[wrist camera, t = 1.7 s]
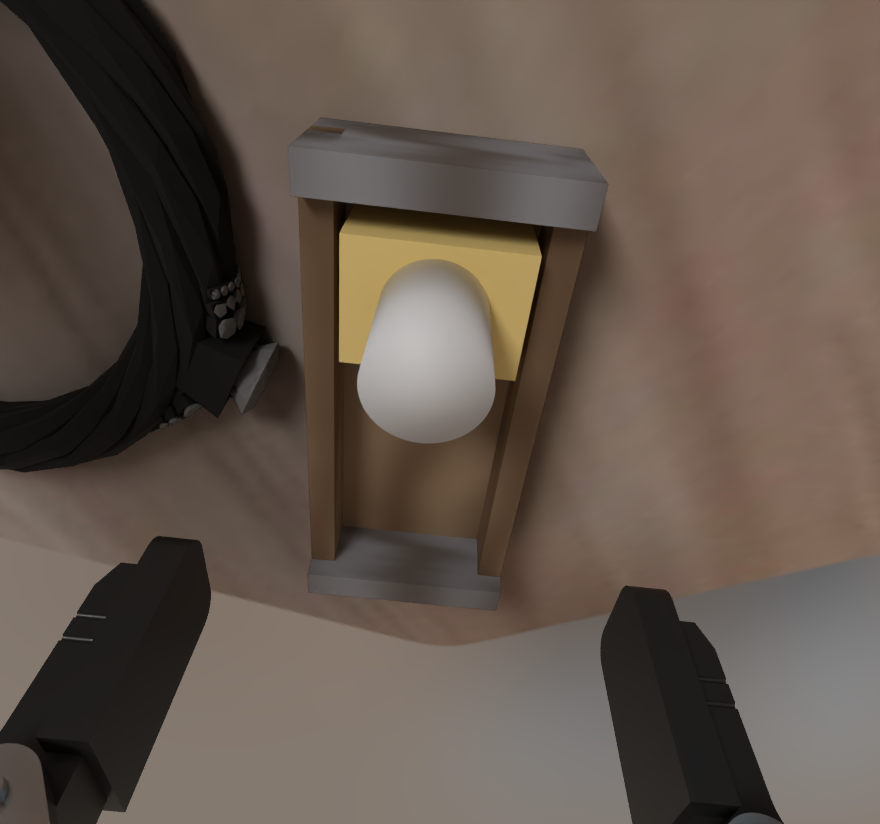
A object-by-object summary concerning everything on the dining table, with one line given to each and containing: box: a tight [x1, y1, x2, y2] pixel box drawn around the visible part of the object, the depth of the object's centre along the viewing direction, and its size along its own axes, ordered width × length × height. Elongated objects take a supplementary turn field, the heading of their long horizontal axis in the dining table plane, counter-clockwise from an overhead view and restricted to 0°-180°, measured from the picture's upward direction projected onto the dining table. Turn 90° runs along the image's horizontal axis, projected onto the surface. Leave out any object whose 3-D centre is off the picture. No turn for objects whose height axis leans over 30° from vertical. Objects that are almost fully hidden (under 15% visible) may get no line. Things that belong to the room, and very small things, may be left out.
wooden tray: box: [288, 118, 608, 610], centre depth 27 cm, size 10×22×5 cm, turn 174°
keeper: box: [339, 203, 542, 444], centre depth 20 cm, size 7×5×8 cm
